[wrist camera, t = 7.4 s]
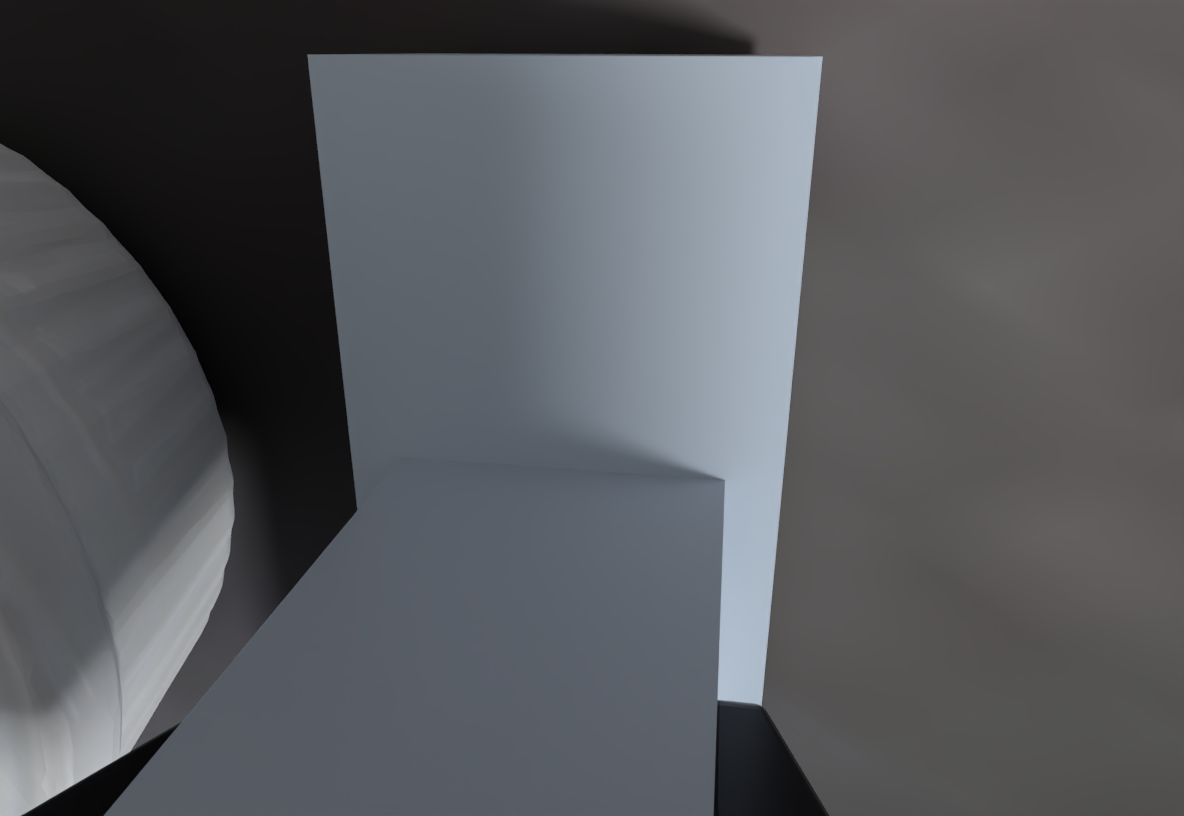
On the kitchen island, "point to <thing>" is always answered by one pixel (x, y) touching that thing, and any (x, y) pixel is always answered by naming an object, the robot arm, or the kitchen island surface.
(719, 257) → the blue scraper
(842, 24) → the kitchen island surface
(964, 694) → the kitchen island surface
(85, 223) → the ramekin
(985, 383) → the kitchen island surface
